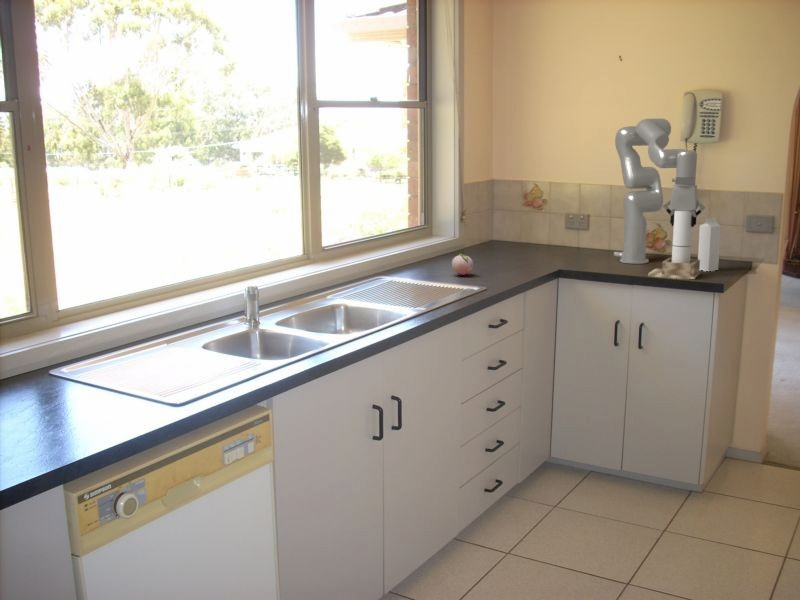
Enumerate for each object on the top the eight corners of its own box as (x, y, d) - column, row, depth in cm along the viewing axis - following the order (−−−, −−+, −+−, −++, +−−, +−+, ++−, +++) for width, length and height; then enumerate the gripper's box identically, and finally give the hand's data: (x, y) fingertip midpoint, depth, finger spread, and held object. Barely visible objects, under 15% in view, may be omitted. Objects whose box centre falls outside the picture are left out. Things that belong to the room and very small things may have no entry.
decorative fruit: (448, 275, 359) (448, 251, 357) (465, 273, 362) (465, 250, 360) (458, 278, 351) (458, 254, 349) (476, 277, 354) (476, 253, 352)
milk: (718, 270, 361) (722, 218, 356) (708, 272, 358) (711, 219, 353) (706, 268, 366) (710, 217, 361) (696, 269, 363) (700, 218, 359)
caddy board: (648, 276, 350) (648, 261, 349) (655, 271, 361) (656, 256, 360) (693, 279, 342) (694, 264, 340) (699, 274, 353) (700, 259, 351)
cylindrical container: (690, 270, 352) (694, 209, 346) (688, 273, 346) (692, 211, 340) (672, 269, 355) (675, 209, 349) (669, 272, 348) (673, 211, 343)
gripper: (661, 181, 343) (658, 226, 347) (706, 183, 335) (703, 228, 339) (665, 180, 350) (663, 223, 354) (710, 181, 341) (707, 226, 345)
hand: (682, 225), depth 346 cm, fingers closed on cylindrical container, 7 cm apart
